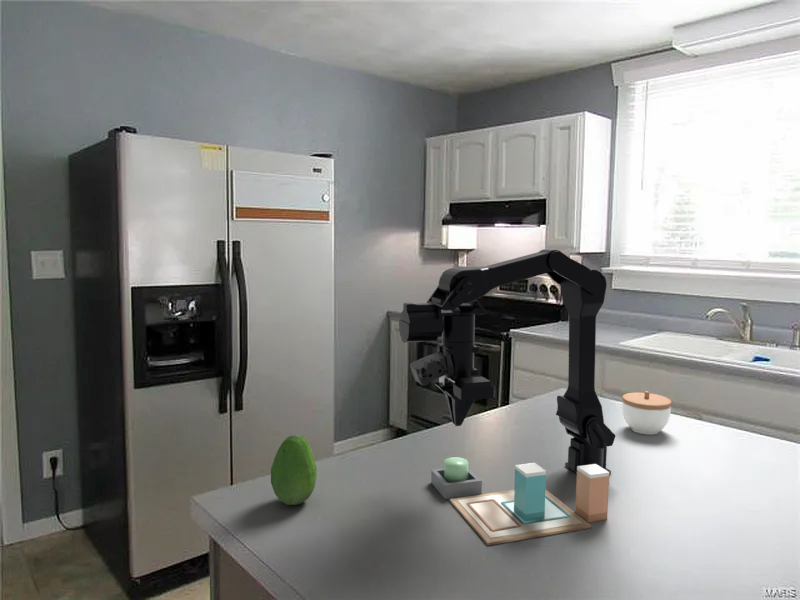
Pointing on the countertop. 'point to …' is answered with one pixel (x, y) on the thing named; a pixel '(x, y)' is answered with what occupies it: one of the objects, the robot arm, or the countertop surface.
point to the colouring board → (514, 517)
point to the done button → (455, 469)
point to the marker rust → (592, 492)
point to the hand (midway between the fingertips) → (456, 424)
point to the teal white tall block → (529, 491)
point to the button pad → (456, 485)
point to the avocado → (294, 471)
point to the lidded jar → (646, 412)
